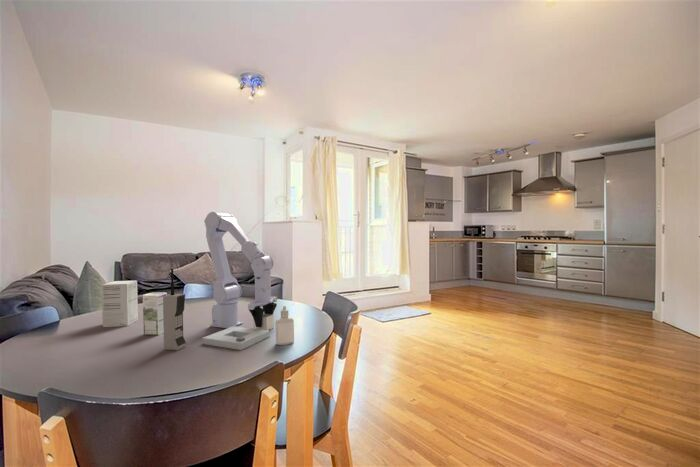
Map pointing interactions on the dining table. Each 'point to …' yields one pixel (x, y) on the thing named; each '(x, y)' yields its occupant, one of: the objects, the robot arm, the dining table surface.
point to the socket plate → (236, 337)
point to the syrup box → (153, 313)
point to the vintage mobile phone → (173, 319)
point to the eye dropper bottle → (284, 328)
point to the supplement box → (119, 303)
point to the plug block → (266, 322)
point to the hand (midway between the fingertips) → (263, 324)
